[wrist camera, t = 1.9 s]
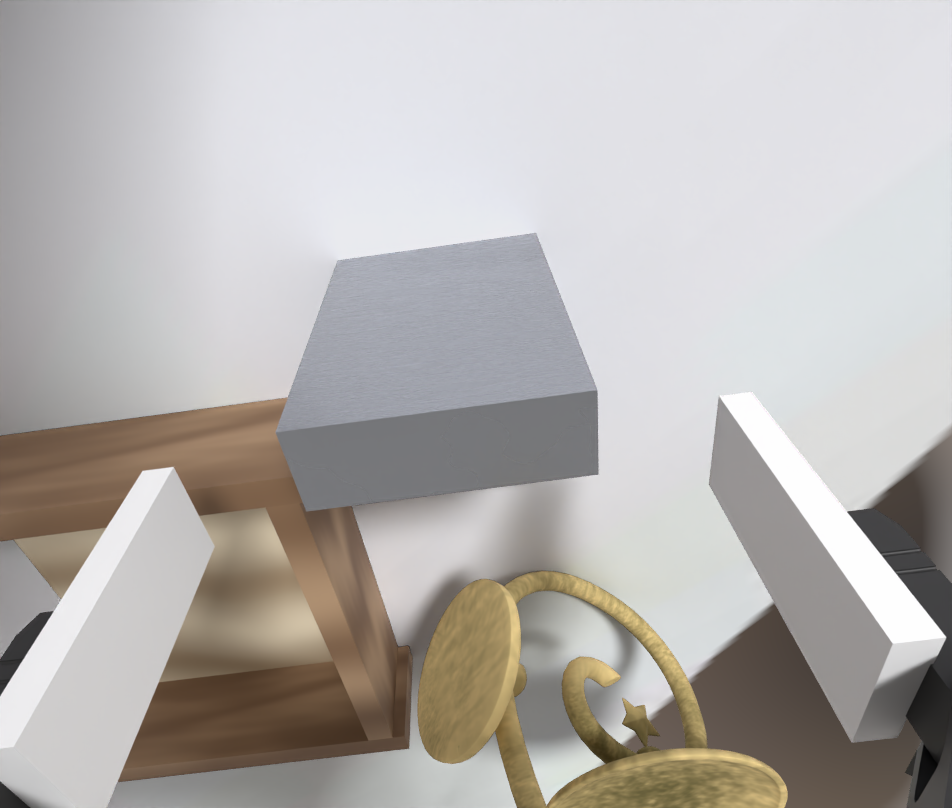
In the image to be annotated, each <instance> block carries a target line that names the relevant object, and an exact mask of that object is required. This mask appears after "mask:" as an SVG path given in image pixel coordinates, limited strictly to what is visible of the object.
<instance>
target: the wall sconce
mask: <svg viewBox="0 0 952 808" xmlns="http://www.w3.org/2000/svg"><path fill="white" fill-rule="evenodd" d="M538 591H558V592H563V593H566V594H569V595H573V596H575V597H578V598H580V599H582V600H584V601H586V602H588V603H590V604H592V605H594V606H596V607H598V608H599V609H601V610H603V611H604V612H606V613H607V614H609V615H610V616H612V617H613V618H614V619H616V620H617V621H618V622H619V623H621V624H622V625H623V626H624V627H625V628H626V629H627V630H629V631H630V632H631V633H632V634H633V635H634V636H635V637H636V638H637V639H638V640H639V641H640V643H641V644H642V645H643V646H644V647H645V648H646V650H647V651H648V652H649V653H650V655H651V656H652V657H653V659H654V660H655V662H656V663H657V664H658V666H659V668H660V669H661V671H662V673H663V674H664V676H665V678H666V680H667V682H668V684H669V685H670V688H671V690H672V692H673V694H674V697H675V700H676V702H677V705H678V708H679V712H680V715H681V719H682V723H683V727H684V733H685V748H683V749H669V750H659V749H658V748H656V747H652V746H647V739H648V735H652V736H660V735H659V734H658V732H657V731H656V730H655V728H654V727H653V725H652V724H651V723H650V722H649V720H648V719H647V716H646V709H645V705H641V706H637V707H634V706H633V705H631V704H630V703H629V702H628V701H626V700H625V699H624V698H622V700H623V703H624V707H625V710H626V713H627V714H626V716H625V718H624V720H623V723H622V724H623V725H624V726H626V727H628V728H630V729H632V730H634V731H635V732H636V734H637V736H638V737H639V739H640V740H641V742H642V743H643V745H644V746H645V747H643V748H641V749H640V750H638V751H637V753H634V752H633V751H631V750H630V749H628V748H626V747H625V746H623V745H621V744H620V743H618V742H617V741H616V740H615V739H614V738H612V737H611V736H610V735H609V734H608V733H607V732H606V731H605V730H604V729H603V728H602V727H601V726H600V725H599V723H598V722H597V721H596V719H595V718H594V716H593V714H592V713H591V711H590V709H589V706H588V704H587V701H586V697H585V694H584V681H585V679H586V678H590V679H592V680H594V681H595V682H597V683H598V684H600V685H601V686H603V687H607V686H610V685H612V684H614V683H615V682H617V681H618V680H619V679H620V678H621V677H620V675H619V674H618V673H616V672H615V671H614V670H613V669H612V668H611V667H609V666H608V665H607V664H605V663H604V662H602V661H599V660H597V659H594V658H591V657H578V658H576V659H574V660H572V661H571V662H569V664H568V666H567V667H566V669H565V671H564V674H563V680H562V695H563V701H564V705H565V708H566V712H567V714H568V716H569V719H570V721H571V723H572V726H573V727H574V729H575V730H576V732H577V734H578V735H579V737H580V738H581V740H582V741H583V742H584V743H585V744H586V745H587V747H588V748H589V749H590V750H591V751H592V752H593V753H594V754H595V755H596V756H597V757H599V758H600V759H601V760H602V761H603V762H604V763H606V764H605V765H602V766H600V767H597V768H595V769H593V770H591V771H589V772H587V773H585V774H583V775H581V776H579V777H577V778H576V779H574V780H572V781H571V782H569V783H568V784H567V785H565V786H564V787H563V788H561V789H560V790H559V791H558V792H557V793H556V794H555V795H554V796H553V797H552V799H551V800H550V802H549V803H548V805H547V806H546V804H545V801H544V799H543V796H542V793H541V790H540V788H539V785H538V782H537V780H536V777H535V774H534V770H533V767H532V764H531V761H530V758H529V755H528V752H527V749H526V746H525V742H524V738H523V734H522V730H521V727H520V723H519V719H518V715H517V710H516V705H515V699H514V697H516V696H518V695H519V694H520V693H521V692H522V691H523V689H524V688H525V685H526V681H527V675H526V671H525V668H524V666H523V665H521V664H519V660H520V650H521V629H520V620H519V614H518V610H517V607H516V604H517V603H518V602H519V601H520V600H521V599H522V598H524V597H525V596H527V595H528V594H531V593H534V592H538ZM418 726H419V732H420V736H421V739H422V743H423V745H424V747H425V749H426V751H427V752H428V753H429V755H430V756H432V757H433V758H434V759H436V760H438V761H440V762H443V763H450V764H455V763H460V762H463V761H466V760H468V759H470V758H471V757H472V756H474V755H475V754H476V753H477V752H479V751H480V750H481V749H482V748H483V746H484V745H485V744H486V743H487V742H488V740H489V739H490V738H491V736H492V735H493V733H494V732H496V736H497V741H498V745H499V749H500V754H501V758H502V761H503V764H504V768H505V771H506V774H507V778H508V781H509V785H510V788H511V791H512V794H513V797H514V800H515V803H516V806H517V808H784V807H785V804H786V801H787V788H786V785H785V783H784V782H783V780H782V779H781V777H780V776H779V774H778V773H776V772H775V771H774V770H773V769H772V768H771V767H769V766H768V765H766V764H764V763H763V762H761V761H759V760H757V759H755V758H753V757H750V756H748V755H744V754H740V753H737V752H732V751H725V750H718V749H707V738H706V731H705V727H704V722H703V719H702V715H701V712H700V709H699V706H698V703H697V700H696V697H695V695H694V692H693V690H692V687H691V685H690V683H689V681H688V679H687V677H686V675H685V673H684V672H683V670H682V668H681V666H680V665H679V663H678V661H677V660H676V658H675V657H674V655H673V654H672V652H671V651H670V650H669V648H668V647H667V646H666V644H665V643H664V642H663V640H662V639H661V638H660V637H659V636H658V635H657V633H656V632H655V631H654V630H653V629H652V628H651V627H650V626H649V625H648V624H647V623H646V622H645V621H644V620H643V619H642V618H641V617H640V616H639V615H638V614H637V613H636V612H635V611H633V610H632V609H631V608H630V607H628V606H627V605H626V604H624V603H623V602H622V601H620V600H619V599H617V598H616V597H615V596H613V595H612V594H610V593H608V592H606V591H605V590H603V589H601V588H600V587H598V586H596V585H594V584H592V583H590V582H588V581H585V580H583V579H580V578H578V577H575V576H572V575H569V574H565V573H560V572H554V571H538V572H531V573H527V574H524V575H522V576H519V577H517V578H515V579H513V580H512V581H510V582H509V583H507V584H506V585H505V586H503V585H501V584H499V583H497V582H495V581H493V580H489V579H480V580H477V581H474V582H472V583H470V584H469V585H467V586H466V587H465V588H463V589H462V590H461V591H460V592H459V593H458V594H457V596H456V597H455V598H454V599H453V600H452V602H451V603H450V605H449V606H448V607H447V609H446V611H445V612H444V614H443V616H442V618H441V619H440V621H439V623H438V625H437V627H436V630H435V632H434V634H433V637H432V639H431V642H430V645H429V648H428V650H427V654H426V657H425V661H424V664H423V669H422V673H421V679H420V684H419V692H418Z"/></svg>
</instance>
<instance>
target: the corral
mask: <svg viewBox="0 0 952 808" xmlns="http://www.w3.org/2000/svg"><path fill="white" fill-rule="evenodd" d="M287 399H288V398H282V399H275V400H267V401H260V402H252V403H244V404H237V405H229V406H222V407H214V408H207V409H199V410H192V411H184V412H177V413H169V414H162V415H154V416H146V417H139V418H131V419H124V420H116V421H109V422H101V423H94V424H86V425H79V426H71V427H64V428H56V429H48V430H41V431H33V432H26V433H18V434H11V435H3V436H0V541H7V540H14V541H15V542H16V544H17V545H18V546H19V547H20V549H21V550H22V551H23V552H24V554H25V555H26V556H27V557H28V559H29V560H30V561H31V562H32V563H33V565H34V566H35V567H36V568H37V570H38V571H39V572H40V573H41V575H42V576H43V577H44V578H45V580H46V581H47V582H48V583H49V585H50V586H51V587H52V588H53V590H54V591H55V592H56V593H57V595H58V596H59V597H60V598H61V599H62V598H63V596H64V594H65V593H66V591H67V590H68V588H69V587H70V585H71V583H72V582H73V580H74V579H75V577H76V576H77V574H78V572H79V571H80V569H81V568H82V566H83V564H84V563H85V561H86V560H87V558H88V557H89V555H90V553H91V552H92V550H93V549H94V547H95V545H96V544H97V542H98V541H99V539H100V538H101V536H102V534H103V533H104V531H105V530H106V528H107V526H108V525H109V523H110V522H111V520H112V519H113V517H114V515H115V514H116V512H117V511H118V509H119V508H120V506H121V504H122V503H123V501H124V500H125V498H126V496H127V495H128V493H129V492H130V490H131V489H132V487H133V485H134V484H135V482H136V481H137V479H138V477H139V476H140V474H141V473H142V471H146V470H154V469H161V468H169V467H174V469H175V471H176V473H177V474H178V476H179V478H180V480H181V482H182V484H183V486H184V488H185V490H186V492H187V494H188V496H189V498H190V500H191V502H192V503H193V505H194V507H195V509H196V511H197V513H198V515H199V517H200V519H201V521H202V523H203V525H204V527H205V529H206V531H207V532H208V534H209V536H210V538H211V540H212V542H213V544H214V546H215V547H214V549H213V552H212V554H211V557H210V559H209V561H208V564H207V566H206V569H205V571H204V574H203V576H202V578H201V581H200V583H199V586H198V588H197V591H196V593H195V595H194V598H193V600H192V603H191V605H190V607H189V610H188V612H187V615H186V617H185V620H184V622H183V624H182V627H181V629H180V632H179V634H178V637H177V639H176V641H175V644H174V646H173V649H172V651H171V653H170V656H169V658H168V661H167V663H166V666H165V668H164V670H163V673H162V675H161V678H160V680H159V683H158V685H157V687H156V690H155V692H154V695H153V697H152V699H151V702H150V704H149V707H148V709H147V712H146V714H145V716H144V719H143V721H142V724H141V726H140V729H139V731H138V733H137V736H136V738H135V741H134V743H133V745H132V748H131V750H130V753H129V755H128V758H127V760H126V762H125V765H124V767H123V770H122V772H121V774H120V777H119V779H118V782H123V781H132V780H140V779H149V778H158V777H166V776H175V775H184V774H192V773H201V772H210V771H218V770H227V769H236V768H244V767H253V766H262V765H270V764H279V763H288V762H296V761H305V760H314V759H322V758H331V757H340V756H348V755H357V754H365V753H374V752H383V751H391V750H400V749H409V739H410V712H411V686H412V660H413V658H412V655H411V652H410V649H409V646H404V647H398V645H397V642H396V639H395V636H394V633H393V630H392V627H391V624H390V621H389V618H388V615H387V612H386V609H385V606H384V603H383V600H382V597H381V594H380V591H379V588H378V585H377V582H376V579H375V576H374V573H373V570H372V567H371V564H370V561H369V558H368V555H367V552H366V549H365V546H364V543H363V540H362V537H361V534H360V531H359V528H358V525H357V522H356V519H355V516H354V513H353V510H352V507H351V506H346V507H338V508H330V509H322V510H315V511H307V512H306V509H305V507H304V504H303V502H302V499H301V497H300V494H299V492H298V489H297V486H296V484H295V481H294V479H293V476H292V474H291V471H290V469H289V466H288V463H287V461H286V458H285V456H284V453H283V451H282V448H281V446H280V443H279V441H278V438H277V435H276V433H275V432H276V429H277V426H278V424H279V421H280V418H281V415H282V413H283V410H284V407H285V404H286V402H287Z"/></svg>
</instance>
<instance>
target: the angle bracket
mask: <svg viewBox="0 0 952 808" xmlns="http://www.w3.org/2000/svg"><path fill="white" fill-rule="evenodd" d="M275 433H276V435H277V438H278V441H279V443H280V446H281V448H282V451H283V453H284V456H285V458H286V461H287V463H288V466H289V469H290V471H291V474H292V476H293V479H294V481H295V484H296V486H297V489H298V492H299V494H300V497H301V499H302V502H303V504H304V507H305V509H306V512H307V511H315V510H322V509H330V508H338V507H346V506H354V505H362V504H370V503H377V502H385V501H393V500H401V499H409V498H417V497H425V496H433V495H440V494H448V493H456V492H464V491H472V490H480V489H488V488H495V487H503V486H511V485H519V484H527V483H535V482H543V481H550V480H558V479H566V478H574V477H582V476H590V475H598V400H597V388H596V385H595V383H594V380H593V378H592V375H591V373H590V370H589V367H588V365H587V362H586V360H585V357H584V355H583V352H582V350H581V347H580V344H579V342H578V339H577V337H576V334H575V332H574V329H573V327H572V324H571V321H570V319H569V316H568V314H567V311H566V309H565V306H564V304H563V301H562V298H561V296H560V293H559V291H558V288H557V286H556V283H555V281H554V278H553V275H552V273H551V270H550V268H549V265H548V263H547V260H546V258H545V255H544V252H543V250H542V247H541V245H540V242H539V240H538V237H537V235H536V233H533V234H525V235H518V236H511V237H504V238H497V239H489V240H482V241H475V242H468V243H461V244H453V245H446V246H439V247H432V248H425V249H417V250H410V251H403V252H396V253H389V254H381V255H374V256H367V257H360V258H353V259H345V260H338V261H337V264H336V267H335V269H334V272H333V275H332V278H331V280H330V283H329V286H328V289H327V291H326V294H325V297H324V300H323V302H322V305H321V308H320V311H319V313H318V316H317V319H316V322H315V324H314V327H313V330H312V333H311V335H310V338H309V341H308V344H307V346H306V349H305V352H304V355H303V357H302V360H301V363H300V366H299V368H298V371H297V374H296V377H295V379H294V382H293V385H292V388H291V391H290V393H289V396H288V399H287V402H286V404H285V407H284V410H283V413H282V415H281V418H280V421H279V424H278V426H277V429H276V432H275Z"/></svg>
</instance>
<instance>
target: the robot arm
mask: <svg viewBox="0 0 952 808" xmlns="http://www.w3.org/2000/svg"><path fill="white" fill-rule="evenodd" d="M709 485H710V487H711V489H712V491H713V493H714V494H715V496H716V498H717V500H718V502H719V503H720V505H721V507H722V509H723V511H724V512H725V514H726V516H727V518H728V520H729V522H730V523H731V525H732V527H733V529H734V531H735V532H736V534H737V536H738V538H739V540H740V541H741V543H742V545H743V547H744V549H745V550H746V552H747V554H748V556H749V558H750V559H751V561H752V563H753V565H754V567H755V568H756V570H757V572H758V574H759V576H760V578H761V579H762V581H763V583H764V585H765V587H766V588H767V590H768V592H769V594H770V596H771V597H772V599H773V601H774V603H775V605H776V606H777V608H778V610H779V612H780V614H781V615H782V617H783V619H784V621H785V623H786V624H787V626H788V628H789V630H790V632H791V634H792V635H793V637H794V639H795V641H796V642H797V644H798V646H799V648H800V650H801V651H802V653H803V655H804V657H805V659H806V661H807V662H808V664H809V666H810V668H811V670H812V671H813V673H814V675H815V677H816V679H817V680H818V682H819V684H820V686H821V688H822V690H823V691H824V693H825V695H826V697H827V699H828V700H829V702H830V704H831V706H832V708H833V709H834V711H835V713H836V715H837V717H838V718H839V720H840V722H841V724H842V726H843V727H844V729H845V731H846V733H847V735H848V736H849V738H850V740H851V742H861V741H869V740H879V739H887V738H896V737H898V735H899V733H900V731H901V729H902V727H903V725H904V723H905V721H906V719H908V720H909V722H910V723H911V725H912V726H913V728H914V730H915V731H916V732H917V734H918V736H919V737H920V739H921V740H922V742H921V744H920V745H919V747H918V749H917V751H916V753H915V755H914V757H913V759H912V761H911V762H910V764H909V766H908V768H907V770H906V772H905V773H907V774H909V775H911V776H912V781H911V786H910V792H909V797H908V803H907V808H952V583H951V582H950V581H949V580H948V579H947V578H946V577H945V576H944V574H943V573H942V572H941V571H940V570H937V569H936V565H935V564H934V563H933V562H932V561H931V559H930V558H929V557H928V556H927V555H926V554H925V553H924V552H921V551H920V547H919V546H918V545H917V543H916V542H915V541H914V540H913V539H912V538H911V537H910V535H909V534H908V533H907V532H906V531H905V530H904V529H903V528H902V526H900V525H899V524H897V523H896V522H894V521H893V520H891V519H890V518H888V517H887V516H885V515H883V514H882V513H880V512H879V511H877V510H876V509H874V508H873V509H864V510H856V511H848V512H847V511H846V510H845V509H844V508H843V506H842V505H841V504H840V503H839V501H838V500H837V499H836V497H835V496H834V495H833V494H832V492H831V491H830V490H829V489H828V487H827V486H826V485H825V484H824V482H823V481H822V480H821V479H820V477H819V476H818V475H817V474H816V472H815V471H814V470H813V468H812V467H811V466H810V465H809V463H808V462H807V461H806V460H805V458H804V457H803V456H802V455H801V453H800V452H799V451H798V450H797V448H796V447H795V446H794V445H793V443H792V442H791V441H790V439H789V438H788V437H787V436H786V434H785V433H784V432H783V431H782V429H781V428H780V427H779V426H778V424H777V423H776V422H775V421H774V419H773V418H772V417H771V416H770V414H769V413H768V412H767V410H766V409H765V408H764V407H763V405H762V404H761V403H760V402H759V400H758V399H757V398H756V397H755V395H754V394H753V393H752V392H746V393H739V394H731V395H723V396H719V400H718V409H717V418H716V426H715V435H714V444H713V452H712V461H711V470H710V479H709ZM214 547H215V546H214V544H213V542H212V540H211V538H210V536H209V534H208V532H207V531H206V529H205V527H204V525H203V523H202V521H201V519H200V517H199V515H198V513H197V511H196V509H195V507H194V505H193V503H192V502H191V500H190V498H189V496H188V494H187V492H186V490H185V488H184V486H183V484H182V482H181V480H180V478H179V476H178V474H177V473H176V471H175V469H174V467H169V468H161V469H154V470H146V471H142V473H141V474H140V476H139V477H138V479H137V481H136V482H135V484H134V485H133V487H132V489H131V490H130V492H129V493H128V495H127V496H126V498H125V500H124V501H123V503H122V504H121V506H120V508H119V509H118V511H117V512H116V514H115V515H114V517H113V519H112V520H111V522H110V523H109V525H108V526H107V528H106V530H105V531H104V533H103V534H102V536H101V538H100V539H99V541H98V542H97V544H96V545H95V547H94V549H93V550H92V552H91V553H90V555H89V557H88V558H87V560H86V561H85V563H84V564H83V566H82V568H81V569H80V571H79V572H78V574H77V576H76V577H75V579H74V580H73V582H72V583H71V585H70V587H69V588H68V590H67V591H66V593H65V594H64V596H63V598H62V599H61V601H60V602H59V604H58V606H57V607H56V609H55V610H54V611H52V612H44V613H40V614H39V615H38V616H36V617H35V618H34V619H33V620H32V621H31V622H30V623H29V624H28V625H27V626H26V627H25V628H24V629H23V630H22V631H21V632H20V633H18V634H17V635H16V636H15V638H14V639H13V641H12V642H11V644H10V645H9V647H8V648H7V650H6V651H5V653H4V654H3V656H2V657H1V659H0V808H107V806H108V804H109V801H110V799H111V796H112V794H113V791H114V789H115V787H116V784H117V782H118V779H119V777H120V774H121V772H122V770H123V767H124V765H125V762H126V760H127V758H128V755H129V753H130V750H131V748H132V745H133V743H134V741H135V738H136V736H137V733H138V731H139V729H140V726H141V724H142V721H143V719H144V716H145V714H146V712H147V709H148V707H149V704H150V702H151V699H152V697H153V695H154V692H155V690H156V687H157V685H158V683H159V680H160V678H161V675H162V673H163V670H164V668H165V666H166V663H167V661H168V658H169V656H170V653H171V651H172V649H173V646H174V644H175V641H176V639H177V637H178V634H179V632H180V629H181V627H182V624H183V622H184V620H185V617H186V615H187V612H188V610H189V607H190V605H191V603H192V600H193V598H194V595H195V593H196V591H197V588H198V586H199V583H200V581H201V578H202V576H203V574H204V571H205V569H206V566H207V564H208V561H209V559H210V557H211V554H212V552H213V549H214Z"/></svg>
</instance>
